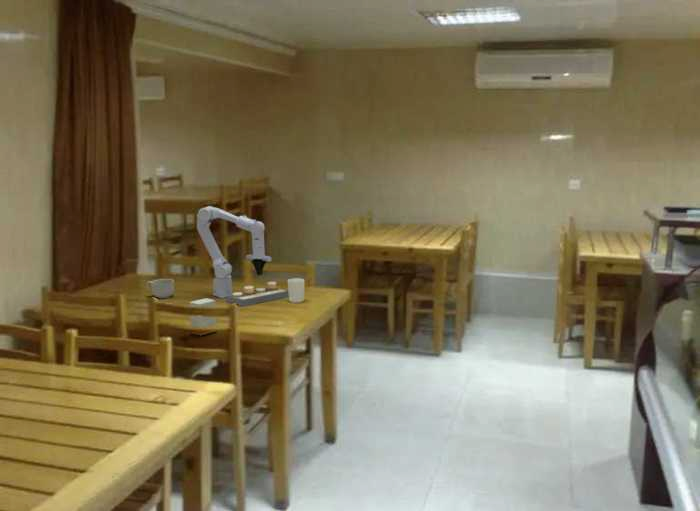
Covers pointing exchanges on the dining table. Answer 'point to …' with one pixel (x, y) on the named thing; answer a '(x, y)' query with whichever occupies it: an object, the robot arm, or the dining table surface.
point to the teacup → (161, 287)
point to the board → (257, 297)
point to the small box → (200, 320)
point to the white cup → (296, 290)
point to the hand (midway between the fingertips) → (259, 274)
